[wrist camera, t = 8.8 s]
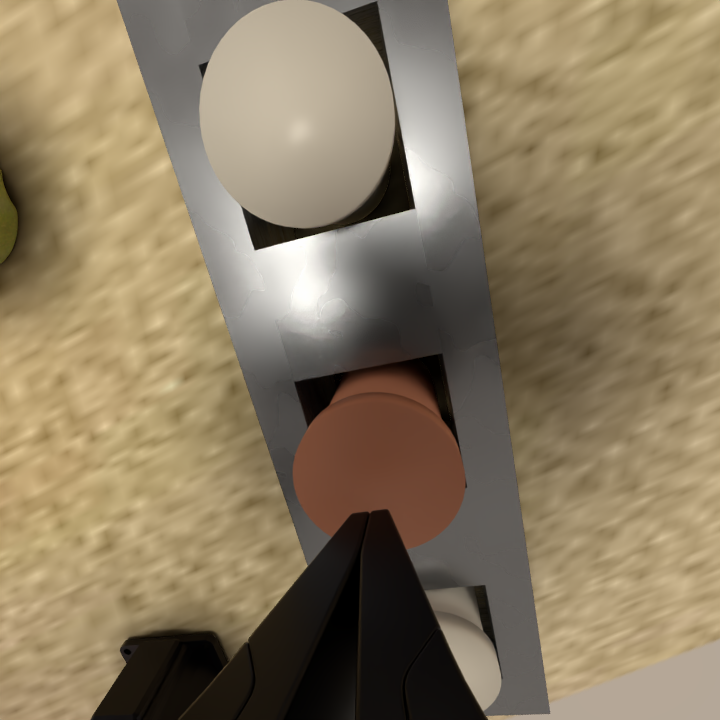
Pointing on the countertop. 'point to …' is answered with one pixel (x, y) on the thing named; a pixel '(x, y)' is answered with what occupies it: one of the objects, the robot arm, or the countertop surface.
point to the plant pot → (7, 223)
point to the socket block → (366, 296)
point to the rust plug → (382, 454)
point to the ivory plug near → (299, 116)
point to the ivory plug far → (468, 640)
